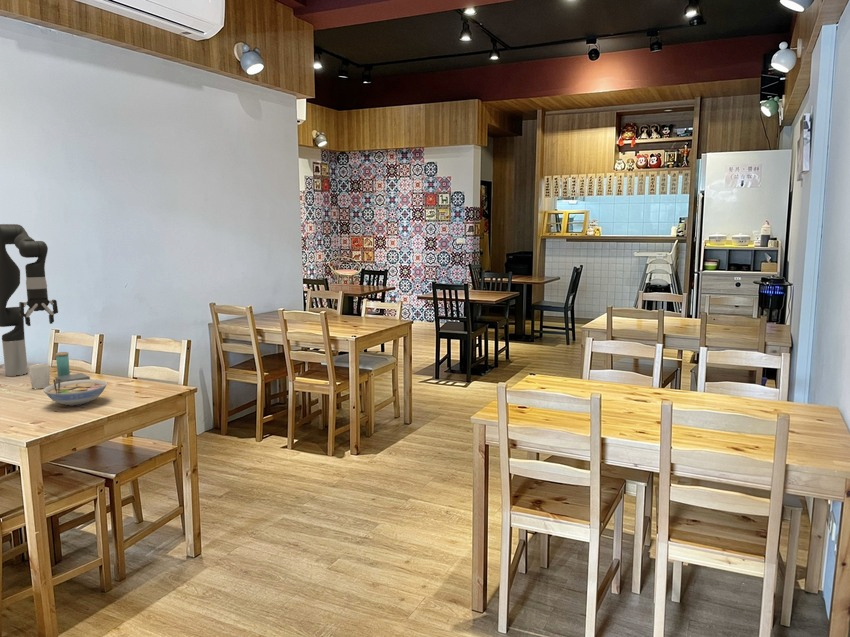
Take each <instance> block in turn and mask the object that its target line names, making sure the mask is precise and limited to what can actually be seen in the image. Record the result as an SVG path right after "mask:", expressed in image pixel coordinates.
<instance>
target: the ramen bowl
mask: <svg viewBox="0 0 850 637" xmlns="http://www.w3.org/2000/svg"><path fill="white" fill-rule="evenodd" d="M49 385H50V384H49ZM107 385H108V382H107V381H106V380H102V379H90V380H75V381H68V382H62V383H60V380H58V383H57V384H56V381H55V379H53V384H51V385H50V386H48V387H46V388H43V389H42V391H43V392H44V394H45V395H46V396H48V398H50V399H51V400H52V401H53V402H55V403H58V404H61V405H66V406H68V405H69V407H75V406H74V405H78V406H83V405H86V404H87V403H90V402H91V401H93V400H95V399H98V398H99V397H100V395H102V393H103V391H104V390H105V389H106V387H107ZM82 404H83V405H82Z"/></svg>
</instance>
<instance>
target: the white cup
mask: <svg viewBox="0 0 850 637" xmlns="http://www.w3.org/2000/svg"><path fill="white" fill-rule="evenodd" d="M28 373H29V379H30V383H31V388H36V389H35V390H39V389H38V388H43V389H44V388H46V387H48V386H50V377H51V376H50V364H49V363H38V364H32V365H28Z"/></svg>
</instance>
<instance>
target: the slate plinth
mask: <svg viewBox="0 0 850 637" xmlns="http://www.w3.org/2000/svg"><path fill="white" fill-rule="evenodd" d="M54 380H55V383H56V384H57V383H58V380H60V383H62V382H68V381H75V380H91V378H90V375H87V374H84V373H83V372H79V373H70V375H64V376H58V375H57V376H54Z"/></svg>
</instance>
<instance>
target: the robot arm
mask: <svg viewBox="0 0 850 637" xmlns="http://www.w3.org/2000/svg"><path fill="white" fill-rule="evenodd" d="M6 245H14V246H15V248H17V249H18V252H19V255H20V256H21V257H22V258H26V259H31V258H32V259H33V258H37V259H36V261H34V262H29V263H27V264H26V265H25V267H24V268H25V285H26V286H25V287H26V295H27V300H26V301H25V302H23V301H20V302H18V306H11V307H7V305H8V301H9V300H10V299H11V297H12V295H13V294H14V293H15V292H16V291H17V289H18V288H19V286H20V285H21V270H20V268H19V266H18V265H17V263H16V262H15V261H14V260H13V259H12V257H11V256H10V254H9V253H8V251H7V248H6ZM48 248H49V247H48V245H47V243H46V242H45V241H43V240H35V239H33V238H32V237H30V236H29V234H28V232H27V231H26V229H25V228H24V227H23V225H21V224H19V223H18V224H14V223H13V224H12V223H6V224H5V223H2V224H0V327H1V328H5V327H6V328H7V327H14V328H13V329H11V330H10V331H8V332H6V333H3V334H2V335H1V342H2V351H3V352H2V353H3V361H4V362H3V363H4V373H5V374H4V375H5V376H6V375H7V376H6V377H17V376H16V375H20V376H24V375H23V374H25V375H27V374H26V373H29V367H28V360H27V359H28V358H27V350H26V349H27V348H26V338H25V325H26V326H27V327H31V317H30V316H31V315H32V313H33V312H40V311H41V312H42V311H43V312H44V311H45V312H46V313H47V314H48V322H49V324H50V325H51V324H52V325H53V323H54V322H55V318H54V316H55V315H56V314H59V309H58V301H57V300H56V299H50V300H49V297H48V296H49V295H48V284H47V280H46V271H45V270H46V269H45V268H46V266H45V264H46V261H47V260H46V259H47V256H48ZM49 305H51V306H52V310H51V309H50V308H49V307H48V306H49ZM26 306H27V307H28V309H27V310H26V312H25V308H26ZM24 321H25V322H24ZM24 323H25V324H24Z"/></svg>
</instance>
